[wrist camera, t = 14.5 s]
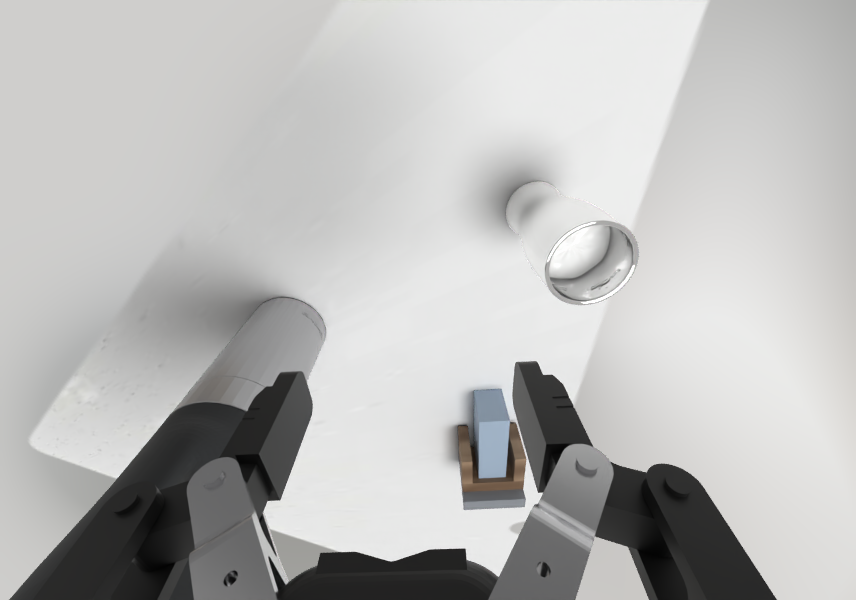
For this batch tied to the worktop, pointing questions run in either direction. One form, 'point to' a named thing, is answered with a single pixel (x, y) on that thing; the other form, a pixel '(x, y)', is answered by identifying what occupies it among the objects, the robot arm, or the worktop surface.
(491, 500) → the wall
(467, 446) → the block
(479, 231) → the worktop surface
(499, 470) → the peg
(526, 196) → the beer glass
